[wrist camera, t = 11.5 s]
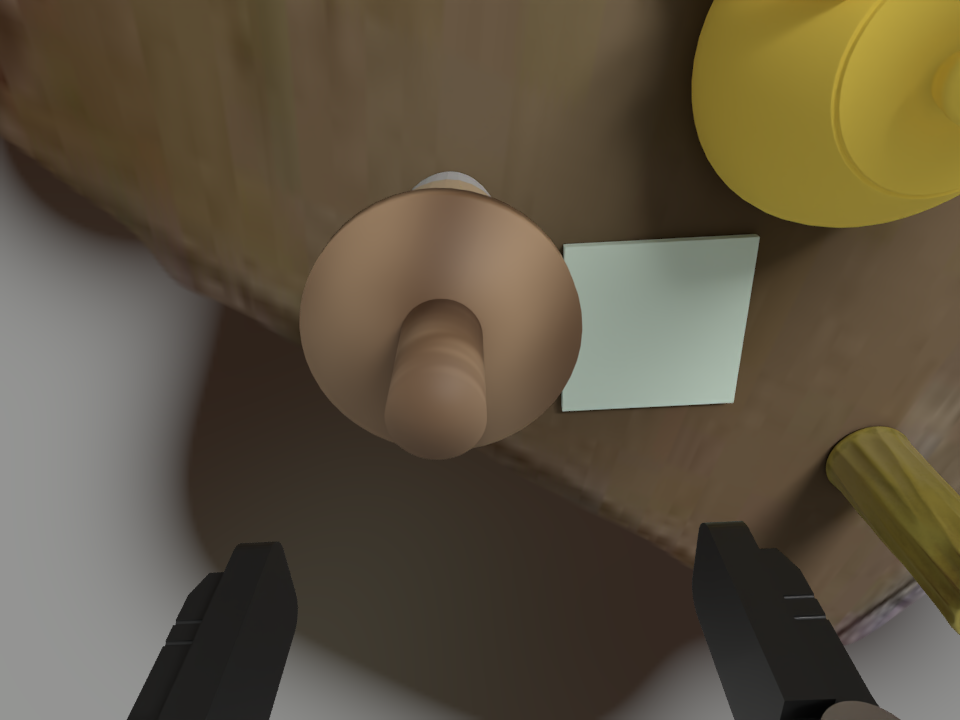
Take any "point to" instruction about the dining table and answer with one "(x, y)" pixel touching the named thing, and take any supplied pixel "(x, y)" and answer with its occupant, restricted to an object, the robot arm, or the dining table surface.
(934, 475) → the vase
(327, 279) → the lid
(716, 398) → the mat
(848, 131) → the teapot
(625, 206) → the dining table surface
